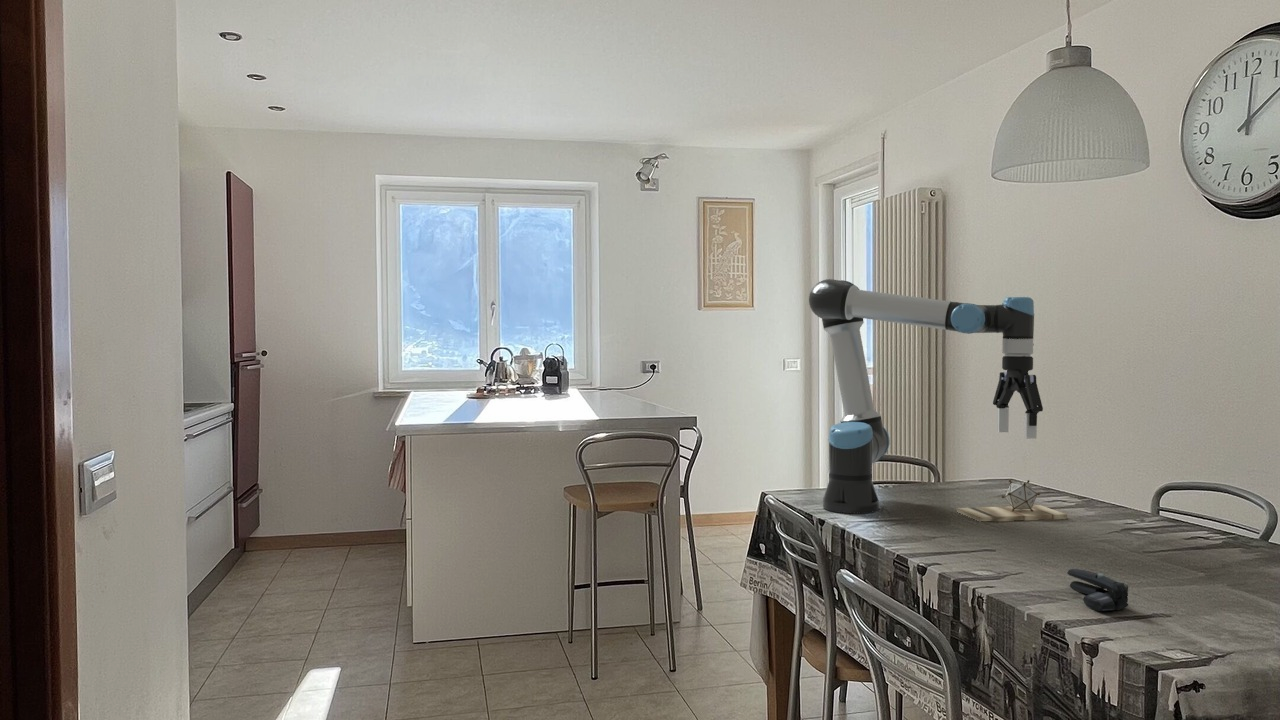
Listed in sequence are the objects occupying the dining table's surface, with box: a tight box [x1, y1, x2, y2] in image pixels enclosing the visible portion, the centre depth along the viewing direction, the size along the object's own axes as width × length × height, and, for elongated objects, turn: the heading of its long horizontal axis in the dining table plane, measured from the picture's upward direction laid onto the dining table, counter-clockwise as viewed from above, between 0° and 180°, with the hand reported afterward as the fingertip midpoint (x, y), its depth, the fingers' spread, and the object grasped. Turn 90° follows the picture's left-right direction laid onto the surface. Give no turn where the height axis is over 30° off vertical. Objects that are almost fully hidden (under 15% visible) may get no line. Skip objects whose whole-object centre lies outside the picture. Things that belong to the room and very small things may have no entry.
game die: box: [1001, 479, 1041, 512], centre depth 230 cm, size 9×8×10 cm
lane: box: [956, 504, 1068, 522], centre depth 230 cm, size 24×12×1 cm, turn 97°
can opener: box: [1066, 568, 1129, 612], centre depth 158 cm, size 18×7×6 cm, turn 177°
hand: (1016, 435), depth 231 cm, fingers open, 13 cm apart
